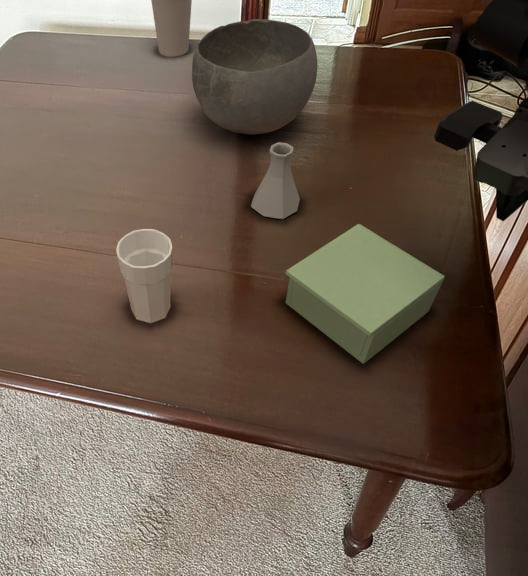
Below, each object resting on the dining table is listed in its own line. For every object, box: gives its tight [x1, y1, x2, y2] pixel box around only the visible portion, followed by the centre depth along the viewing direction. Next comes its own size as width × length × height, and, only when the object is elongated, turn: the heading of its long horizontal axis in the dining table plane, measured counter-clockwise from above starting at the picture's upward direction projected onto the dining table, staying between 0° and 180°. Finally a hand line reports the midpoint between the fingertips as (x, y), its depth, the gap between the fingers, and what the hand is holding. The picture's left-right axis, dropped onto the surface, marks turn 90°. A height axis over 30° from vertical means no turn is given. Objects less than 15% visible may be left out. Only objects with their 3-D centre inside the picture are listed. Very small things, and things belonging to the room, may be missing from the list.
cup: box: [116, 228, 173, 324], centre depth 71 cm, size 7×7×11 cm
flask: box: [250, 141, 301, 220], centre depth 83 cm, size 7×7×10 cm
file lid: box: [285, 223, 445, 336], centre depth 67 cm, size 13×12×1 cm
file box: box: [285, 277, 444, 365], centre depth 70 cm, size 12×12×6 cm
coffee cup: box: [151, 0, 193, 58], centre depth 117 cm, size 10×10×15 cm
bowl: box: [191, 18, 318, 135], centre depth 96 cm, size 20×20×15 cm
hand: (501, 218), depth 64 cm, fingers closed
